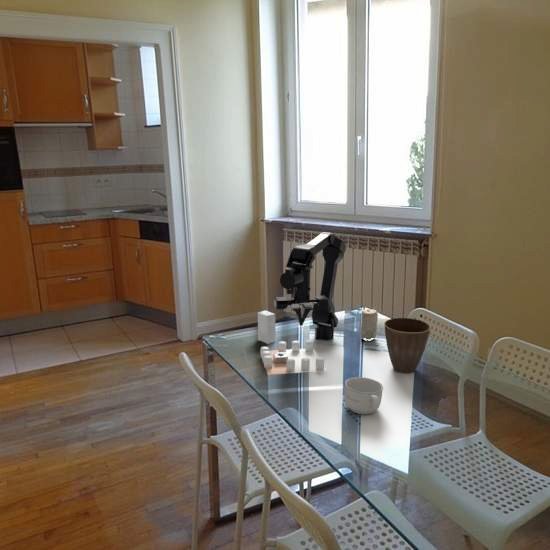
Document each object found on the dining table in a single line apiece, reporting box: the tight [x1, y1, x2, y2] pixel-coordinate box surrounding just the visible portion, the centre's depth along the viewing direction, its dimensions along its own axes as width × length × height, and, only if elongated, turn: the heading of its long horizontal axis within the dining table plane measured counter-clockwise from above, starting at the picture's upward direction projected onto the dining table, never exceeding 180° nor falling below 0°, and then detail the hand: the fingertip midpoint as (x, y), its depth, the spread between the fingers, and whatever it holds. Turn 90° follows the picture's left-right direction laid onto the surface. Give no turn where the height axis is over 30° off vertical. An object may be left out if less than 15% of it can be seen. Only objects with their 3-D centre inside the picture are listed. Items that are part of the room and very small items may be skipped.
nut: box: [273, 352, 288, 364], centre depth 178 cm, size 4×4×2 cm
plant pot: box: [383, 317, 431, 374], centre depth 174 cm, size 15×15×16 cm
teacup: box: [344, 376, 384, 415], centre depth 146 cm, size 14×11×8 cm
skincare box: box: [257, 309, 277, 345], centre depth 196 cm, size 6×4×12 cm
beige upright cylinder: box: [359, 308, 379, 339], centre depth 201 cm, size 6×8×12 cm
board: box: [259, 339, 328, 376], centre depth 179 cm, size 20×20×4 cm
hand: (300, 325), depth 182 cm, fingers closed
